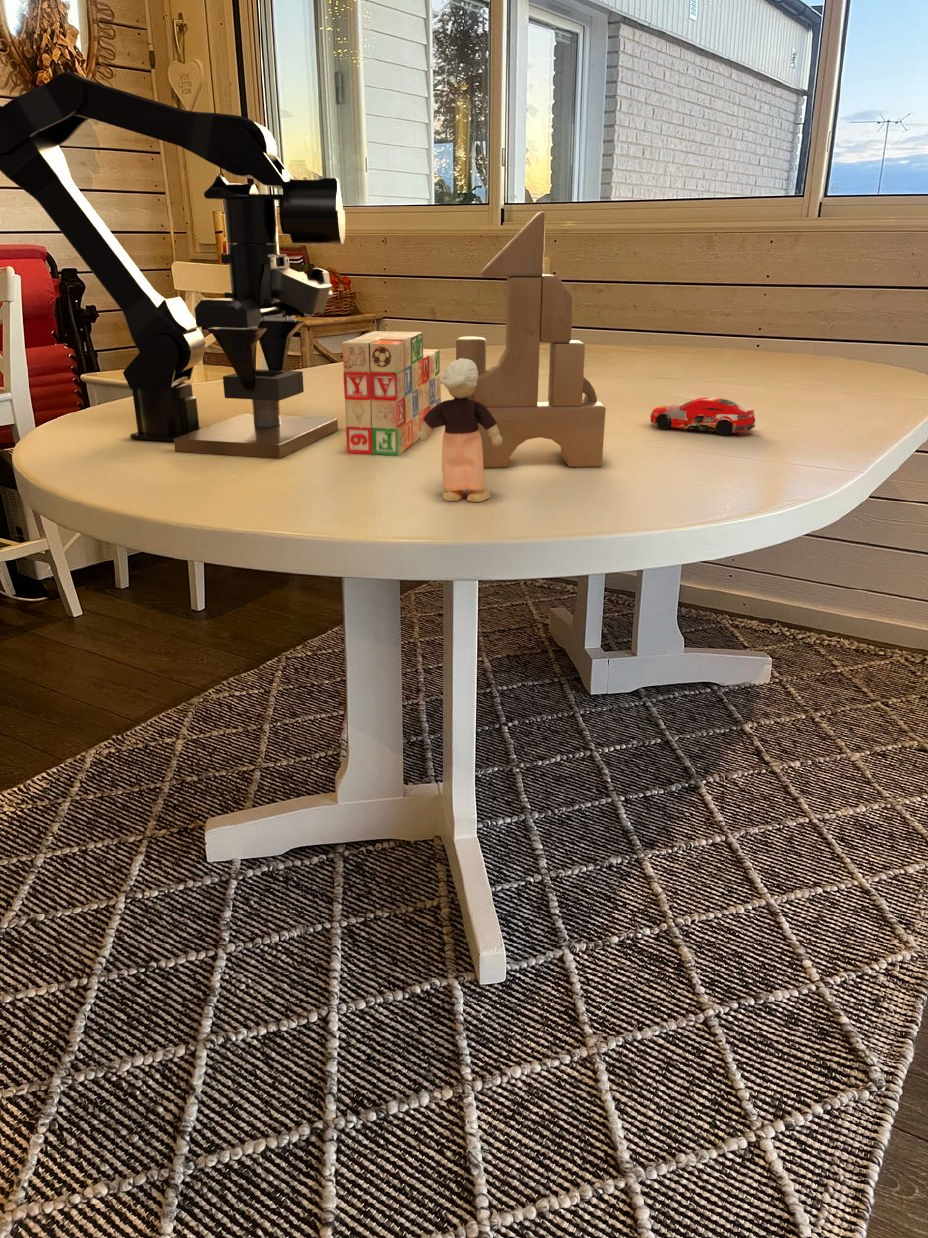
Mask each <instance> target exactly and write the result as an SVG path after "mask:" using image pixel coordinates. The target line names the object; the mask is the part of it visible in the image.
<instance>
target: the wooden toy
mask: <svg viewBox="0 0 928 1238" xmlns="http://www.w3.org/2000/svg"><path fill="white" fill-rule="evenodd" d="M545 239H546V213H545V211H539V212H537V213H536V214H535V215H534V216H533V217H532V218H531V219H530V220H529V221H528V222H527V223H526V224H525V225H524V226H523V227H522V228H521V229H520V230H519V231H518V232H517V233H516V234H515V235H514V237H512V238H511V240H510V241H508V242H507V244H506V245H505V246H504V247H502V249H501V250H499V252H498V253H497V254H496V255H495V256H494V257H493V258H492V259H491V260H490V261H489V262H488V263H487V264H486V265H485V266H484V267H483V268H482V269H481V270H480V274H479V275H480V276H482V277H483V278H506V307H505V308H506V309H505V310H506V313H505V314H506V315H505V317H506V318H505V348H504V351H503V353H502V354H501V356H500V357H499V359H498V361H497V363H496V364H494V365H493V366H491V367H490V368H488V369H487V340H486V338H485V337H483V336H460V337H457V338H456V341H455V360H458V359H460V358H463V359H469V360H472V361H473V362H474V363H475V364H476V366H477V369H478V379H477V385H476V387H475V391H474V393H473V395H471V396H470V397H469V398H468V399H471V400H475V401H478V402H480V403H482V404H483V405H484V406H485V407H486V408H487V409H488V410H489V412H490V413H491V415H492V416H493V418H494V419H495V420H496V422H497V427H498V429H499V435H500V436H501V437H502V439H503V442H502V444H501V445H499V446H494V445H493V444H492V442H491V437H490V436H489V435H488V432H487V430H485V429H484V427H483V426H482V425H481V424H479V423H478V428H479V432H480V435H481V439H482V449H483V467H484V469H486V468H490V469H491V468H494V469H495V468H497V469H498V468H508V467H509V465H510V462H511V461H510V460H511V456H512V455H513V453H514V452H515V450H516V449H517V448H518V447H519V446H520V445H521V444H523V443H525V442H526V441H528V440H533V439H538V438H541V439H547V440H551V441H553V442H554V443H556V444H557V445H558V446H559V447H560V455H561V456H562V458H563V460H564V462H565V463H566V465H567V466H568V467H570V468H600V467H602V465H603V457H604V439H605V425H606V424H605V423H606V406H605V405H604V404H603V403H601V402H600V401H598V396H597V393H596V390H595V388H594V386H593V385H592V384H591V382H590V381H589V380H588V379H587V378H586V377H584V375H585V374H584V373H585V356H586V355H585V354H586V353H585V352H586V345H585V343H583V342H582V341H580V340H578V339H577V340H576V339H574V340H573V339H572V330H573V329H572V328H573V311H574V309H573V307H574V294H573V293H572V292H571V291H570V290H569V288H568V287H567V286H566V285H565V283H564V282H563V281H562V280H561V279H560V277H559V276H557V275H554V274H544V267H545V266H544V265H545V242H546V241H545ZM540 343H542V344H549V361H548V363H549V364H548V365H549V366H548V368H549V369H548V389H547V390H548V391H547V401H538V400H539V377H540V376H539V375H540V373H539V372H540V345H541V344H540ZM583 394H584V397H583Z"/></svg>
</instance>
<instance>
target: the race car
mask: <svg viewBox="0 0 928 1238" xmlns="http://www.w3.org/2000/svg"><path fill="white" fill-rule="evenodd" d="M649 421H650V423H651V424H653V425H657V427H658V428H659V429H660V430H661V431H662V430H663V431H664V430H668V429H669V428H676V429H677V428H679V429H688V430H698V431H706V432H707V431H708V432H716V433H718V434H719V435H720V436H724V437H725V436H728V435H730V434H731V433H741V432H742V433H743V432H748V431H751V430H752V429H754V428H756V425H755V424H756V417H755V410H754V409H753V408H750V407H747V406H744V405H742V404H740V403H738V402H736V401H733V400H729V399H725V398H722V397H721V398H719V397H712V396H710V397H707V396H706V397H698V398H695V399H693V400H690V401H687V402H685V403H681V404H680V403H679V404H666V405H661V406H660V405H659V406H657V407H655V408H653V409H652V411H651V413H650V420H649Z"/></svg>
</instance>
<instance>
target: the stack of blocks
mask: <svg viewBox="0 0 928 1238" xmlns="http://www.w3.org/2000/svg"><path fill="white" fill-rule="evenodd" d="M423 333H424V332H423V331H389V330H387V331H386V330H385V331H384V330H374V331H370V332H367V333H365V334H362V335H359V336H358V337H355V338H352V339H348V340H345V341H342V345H341V347H342V348H341V349H342V364H343V365H342V366H343V374H342V375H343V395H344V397H343V398H344V406H345V424H346V425H345V436H346V452H347V454H362V455H363V454H366V455H372V454H374V455H384V456H386V455H387V456H399V455H401V454H402V453H403V452H405V451H406V450H407V449H409V448H410V447H411V446H412V445H413V444H415V443H416V442H417V441H418V440H420V438H419V437H418V434H419V432H420V431H421V429H422V425H423V422H424V420H423V418H424V417H425V415H426V414H427V413H428V412H429V411H430V410H431V409H432V408H433V407H435V406H436V405H438V404H439V403H441V402H442V383H441V382H442V377H441V376H442V375H441V373H440V372H441V369H440V368H441V365H440V364H441V361H440V359H441V355H440V353H441V351H440V349H434V348H433V349H431V348H424V334H423Z"/></svg>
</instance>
